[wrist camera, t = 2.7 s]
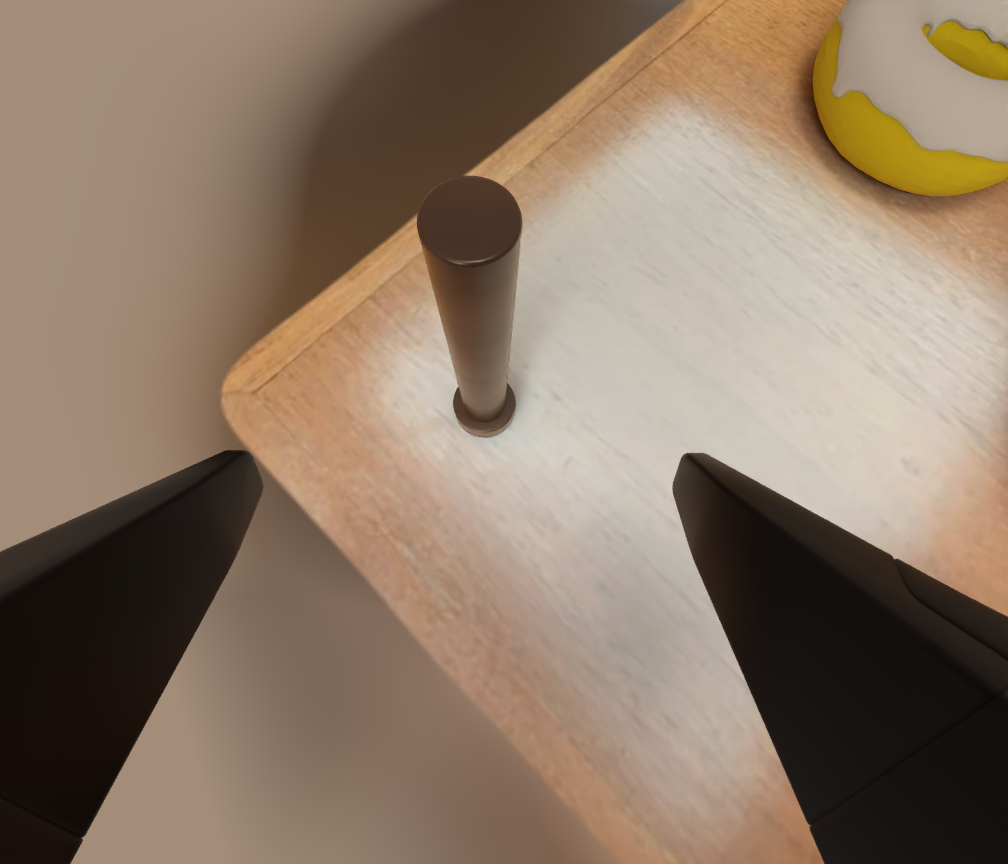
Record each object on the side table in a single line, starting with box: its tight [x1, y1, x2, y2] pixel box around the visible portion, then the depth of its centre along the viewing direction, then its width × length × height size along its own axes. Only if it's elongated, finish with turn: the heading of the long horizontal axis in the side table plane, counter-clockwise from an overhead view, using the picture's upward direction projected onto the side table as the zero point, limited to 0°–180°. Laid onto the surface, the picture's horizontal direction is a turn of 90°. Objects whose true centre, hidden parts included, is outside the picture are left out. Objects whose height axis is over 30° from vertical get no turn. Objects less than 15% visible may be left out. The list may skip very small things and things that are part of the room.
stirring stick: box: [417, 176, 522, 437], centre depth 14 cm, size 3×3×13 cm
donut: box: [813, 0, 1008, 196], centre depth 22 cm, size 14×14×5 cm
